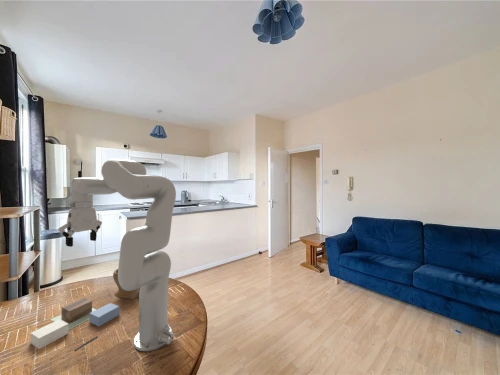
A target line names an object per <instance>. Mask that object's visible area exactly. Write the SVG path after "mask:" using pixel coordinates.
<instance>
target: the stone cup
mask: <svg viewBox="0 0 500 375" xmlns="http://www.w3.org/2000/svg"><path fill="white" fill-rule="evenodd" d="M112 277H113V281H114V282H115V285H116V286H117V288H118V290H117V291H115V293H114V296H116V297H117V298H123V299H128V300H129V299H131V300H134V299H136V298H137V299H139V293H140V288H141V287H140V288H138V289H136V290H133V291H126V290H124V289H122V288H121V286H120V284H119V281H118V268H117V269H115V270H114V271H113V273H112Z"/></svg>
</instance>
